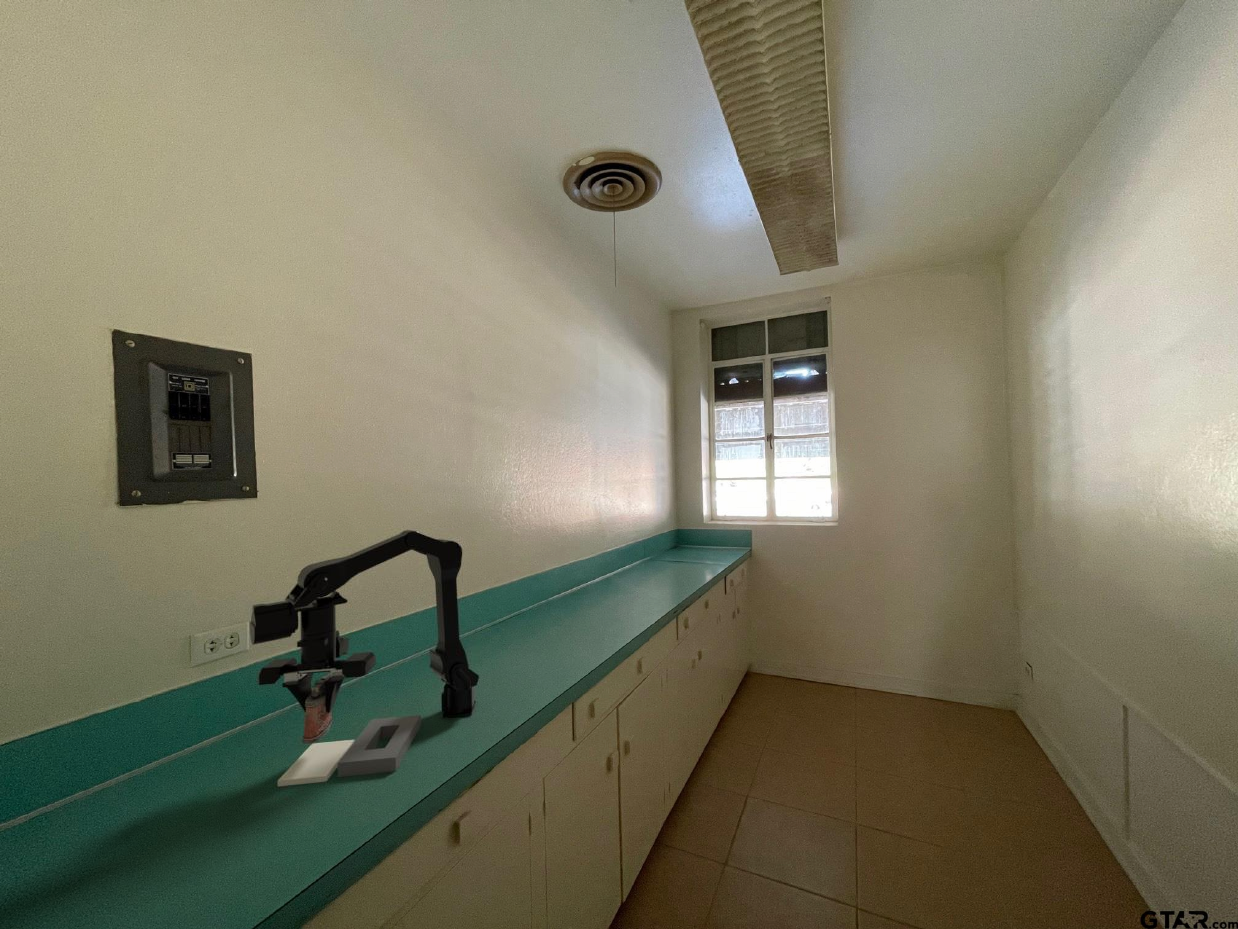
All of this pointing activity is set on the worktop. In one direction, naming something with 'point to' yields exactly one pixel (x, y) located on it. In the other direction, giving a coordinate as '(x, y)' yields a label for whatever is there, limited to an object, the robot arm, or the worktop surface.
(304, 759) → the rubber mat
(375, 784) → the worktop surface
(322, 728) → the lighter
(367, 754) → the grey rectangular frame
